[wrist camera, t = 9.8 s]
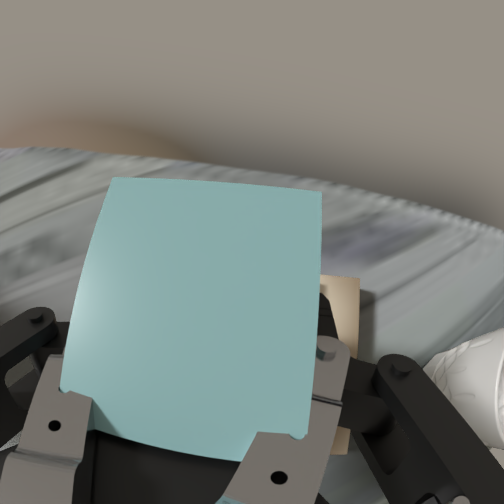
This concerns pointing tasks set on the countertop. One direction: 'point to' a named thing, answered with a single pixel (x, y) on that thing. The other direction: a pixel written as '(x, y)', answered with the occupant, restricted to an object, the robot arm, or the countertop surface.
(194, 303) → the pale teal block
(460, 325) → the countertop surface
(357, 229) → the countertop surface
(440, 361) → the white cup
